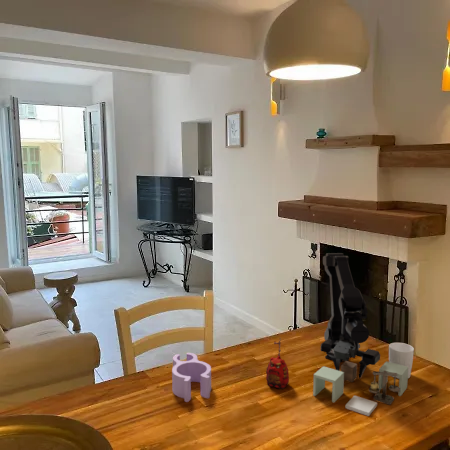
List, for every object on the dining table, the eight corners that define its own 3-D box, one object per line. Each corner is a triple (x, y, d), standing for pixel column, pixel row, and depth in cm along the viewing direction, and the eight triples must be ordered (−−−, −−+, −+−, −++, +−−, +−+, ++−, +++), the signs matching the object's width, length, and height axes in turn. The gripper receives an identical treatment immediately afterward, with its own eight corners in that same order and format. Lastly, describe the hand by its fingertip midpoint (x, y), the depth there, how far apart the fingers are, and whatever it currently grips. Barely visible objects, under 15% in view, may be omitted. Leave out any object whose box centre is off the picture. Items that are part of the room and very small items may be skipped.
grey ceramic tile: (345, 408, 134) (345, 405, 134) (354, 398, 140) (354, 395, 139) (368, 416, 130) (368, 412, 130) (377, 405, 135) (377, 402, 135)
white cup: (408, 370, 159) (409, 342, 157) (415, 380, 151) (417, 352, 149) (385, 369, 159) (386, 342, 158) (390, 379, 152) (392, 351, 150)
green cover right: (378, 389, 145) (379, 368, 144) (385, 381, 151) (386, 361, 150) (400, 396, 141) (401, 375, 140) (407, 387, 146) (408, 366, 145)
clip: (165, 374, 156) (164, 355, 155) (200, 369, 160) (200, 350, 159) (177, 404, 137) (177, 382, 136) (217, 397, 141) (217, 376, 140)
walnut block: (340, 379, 152) (341, 365, 152) (345, 374, 155) (345, 360, 155) (352, 382, 150) (352, 368, 149) (356, 377, 153) (357, 363, 152)
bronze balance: (366, 397, 140) (368, 368, 139) (370, 393, 143) (372, 364, 142) (397, 407, 135) (398, 376, 133) (400, 402, 137) (402, 372, 136)
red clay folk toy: (262, 386, 147) (263, 342, 145) (270, 377, 153) (271, 335, 151) (285, 391, 144) (285, 346, 142) (292, 382, 150) (293, 339, 148)
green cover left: (313, 395, 142) (313, 374, 141) (322, 386, 147) (323, 366, 146) (334, 402, 137) (334, 380, 136) (343, 393, 143) (344, 372, 142)
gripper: (313, 331, 150) (312, 376, 152) (369, 345, 138) (367, 393, 141) (328, 322, 158) (326, 364, 160) (381, 334, 147) (379, 379, 149)
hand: (348, 375), depth 152 cm, fingers open, 7 cm apart
